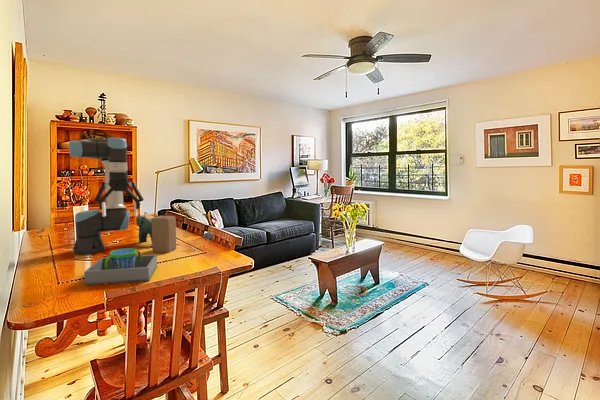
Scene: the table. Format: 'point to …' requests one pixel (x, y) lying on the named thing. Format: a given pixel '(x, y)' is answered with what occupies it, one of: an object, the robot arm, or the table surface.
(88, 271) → the grey tray
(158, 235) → the wooden block
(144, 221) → the green animal figurine
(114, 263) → the snack cup
